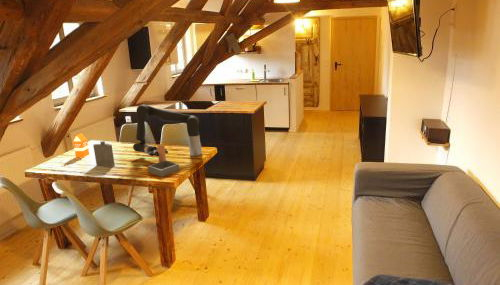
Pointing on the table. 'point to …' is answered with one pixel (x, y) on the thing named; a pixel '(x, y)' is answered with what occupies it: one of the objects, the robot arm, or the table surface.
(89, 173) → the table surface
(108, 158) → the hip flask
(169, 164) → the tote
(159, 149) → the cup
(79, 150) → the orange juice
